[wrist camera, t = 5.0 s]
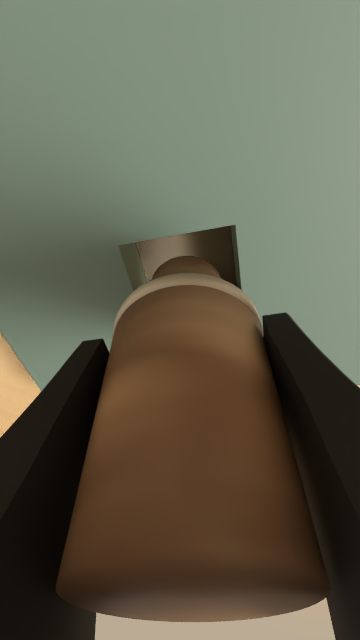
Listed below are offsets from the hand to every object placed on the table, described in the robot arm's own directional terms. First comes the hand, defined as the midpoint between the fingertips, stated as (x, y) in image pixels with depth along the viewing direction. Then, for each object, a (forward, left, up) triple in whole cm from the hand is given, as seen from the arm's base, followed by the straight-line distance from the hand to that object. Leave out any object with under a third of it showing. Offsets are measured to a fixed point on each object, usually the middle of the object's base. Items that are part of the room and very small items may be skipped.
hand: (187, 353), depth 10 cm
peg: (0, 0, -3) cm, 4 cm away
